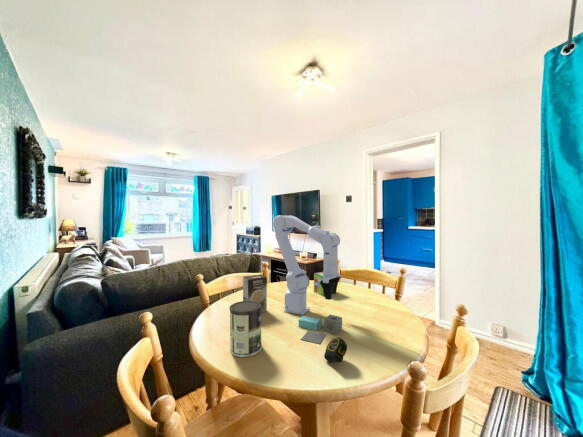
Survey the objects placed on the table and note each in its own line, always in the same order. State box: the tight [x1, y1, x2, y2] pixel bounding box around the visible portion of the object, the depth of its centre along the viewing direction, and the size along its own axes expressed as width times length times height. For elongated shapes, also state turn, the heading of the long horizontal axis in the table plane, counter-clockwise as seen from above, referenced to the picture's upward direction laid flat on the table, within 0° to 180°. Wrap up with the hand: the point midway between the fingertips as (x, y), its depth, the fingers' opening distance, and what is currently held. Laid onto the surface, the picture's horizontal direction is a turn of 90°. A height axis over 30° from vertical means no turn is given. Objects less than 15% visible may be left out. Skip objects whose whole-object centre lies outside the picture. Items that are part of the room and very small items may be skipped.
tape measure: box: [323, 336, 348, 363], centre depth 73 cm, size 7×7×4 cm
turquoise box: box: [298, 315, 323, 332], centre depth 95 cm, size 8×4×3 cm, turn 66°
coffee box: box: [242, 274, 268, 313], centre depth 111 cm, size 9×6×16 cm
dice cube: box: [323, 313, 343, 336], centre depth 92 cm, size 5×5×5 cm
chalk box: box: [313, 268, 334, 297], centre depth 134 cm, size 9×9×15 cm
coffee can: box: [228, 300, 263, 358], centre depth 80 cm, size 10×10×14 cm
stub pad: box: [300, 330, 327, 345], centre depth 87 cm, size 7×7×1 cm
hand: (330, 296), depth 100 cm, fingers open, 7 cm apart
